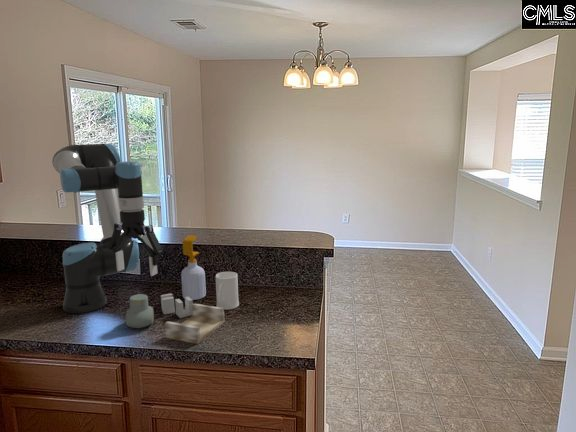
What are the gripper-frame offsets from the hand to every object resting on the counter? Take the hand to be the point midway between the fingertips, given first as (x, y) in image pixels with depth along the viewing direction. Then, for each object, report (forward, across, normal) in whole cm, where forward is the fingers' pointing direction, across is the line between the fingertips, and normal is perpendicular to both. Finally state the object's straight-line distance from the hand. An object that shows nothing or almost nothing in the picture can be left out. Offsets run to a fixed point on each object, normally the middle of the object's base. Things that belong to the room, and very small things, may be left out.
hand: (137, 272), depth 145 cm
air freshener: (+19, 0, 0) cm, 19 cm away
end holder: (+18, +20, +3) cm, 27 cm away
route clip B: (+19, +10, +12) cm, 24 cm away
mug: (+19, +20, +22) cm, 36 cm away
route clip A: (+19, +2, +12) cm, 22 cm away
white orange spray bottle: (+19, +3, +28) cm, 34 cm away
